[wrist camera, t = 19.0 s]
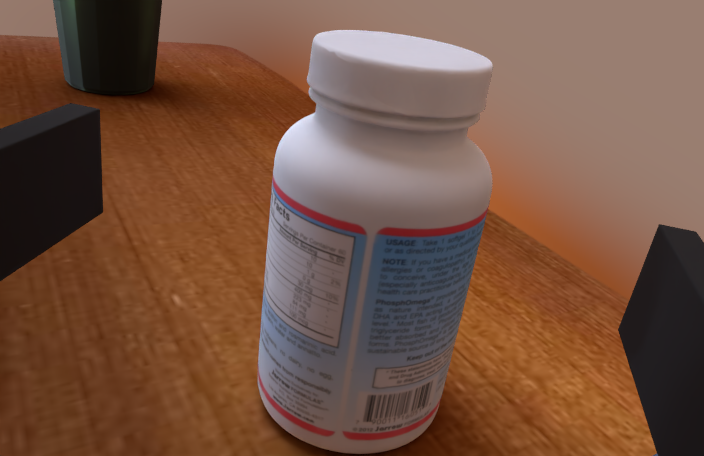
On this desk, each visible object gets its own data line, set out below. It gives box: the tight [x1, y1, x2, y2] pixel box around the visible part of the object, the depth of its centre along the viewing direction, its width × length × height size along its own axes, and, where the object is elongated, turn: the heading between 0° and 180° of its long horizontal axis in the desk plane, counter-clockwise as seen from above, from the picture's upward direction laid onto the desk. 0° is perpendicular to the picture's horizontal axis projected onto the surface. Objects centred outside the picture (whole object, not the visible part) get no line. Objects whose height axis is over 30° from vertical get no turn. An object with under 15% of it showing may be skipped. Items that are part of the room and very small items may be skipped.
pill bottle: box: [258, 30, 493, 454], centre depth 18 cm, size 6×6×11 cm
